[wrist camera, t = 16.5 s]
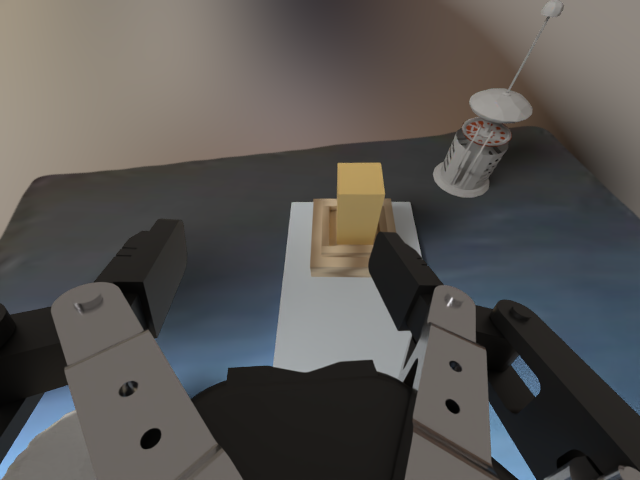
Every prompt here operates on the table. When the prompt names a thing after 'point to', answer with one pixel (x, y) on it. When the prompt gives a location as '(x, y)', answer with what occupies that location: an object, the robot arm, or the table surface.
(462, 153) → the french press
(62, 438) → the teacup
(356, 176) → the ochre pillar
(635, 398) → the table surface
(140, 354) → the robot arm
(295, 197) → the table surface
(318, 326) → the white rectangular board
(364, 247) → the beech base slab
